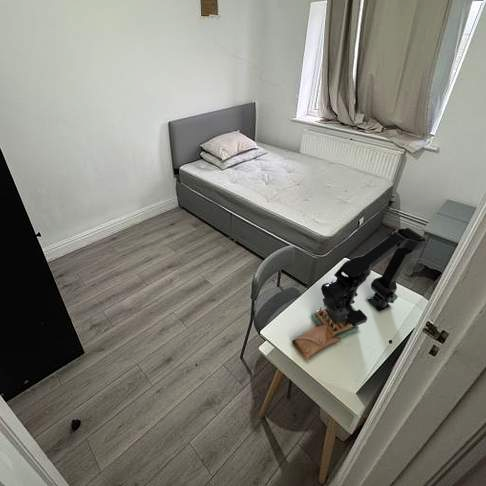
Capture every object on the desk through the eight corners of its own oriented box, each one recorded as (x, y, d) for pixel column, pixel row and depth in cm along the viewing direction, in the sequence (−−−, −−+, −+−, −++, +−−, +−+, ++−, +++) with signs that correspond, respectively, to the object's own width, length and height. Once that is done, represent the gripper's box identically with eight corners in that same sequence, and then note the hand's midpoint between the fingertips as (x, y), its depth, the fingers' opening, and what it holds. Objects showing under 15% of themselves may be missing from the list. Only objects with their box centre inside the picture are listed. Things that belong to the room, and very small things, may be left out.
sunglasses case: (307, 362, 104) (303, 345, 103) (294, 353, 110) (290, 337, 110) (342, 340, 111) (339, 324, 110) (328, 332, 117) (325, 317, 116)
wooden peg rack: (336, 307, 123) (341, 295, 119) (357, 331, 114) (363, 319, 110) (311, 316, 120) (314, 304, 115) (330, 342, 111) (335, 330, 106)
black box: (339, 310, 118) (342, 301, 114) (347, 320, 114) (351, 311, 111) (326, 314, 116) (329, 306, 113) (335, 325, 112) (338, 316, 109)
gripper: (313, 277, 110) (306, 303, 119) (348, 317, 96) (337, 343, 105) (336, 270, 113) (328, 295, 122) (374, 307, 99) (361, 333, 108)
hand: (337, 315), depth 114 cm, fingers open, 9 cm apart
